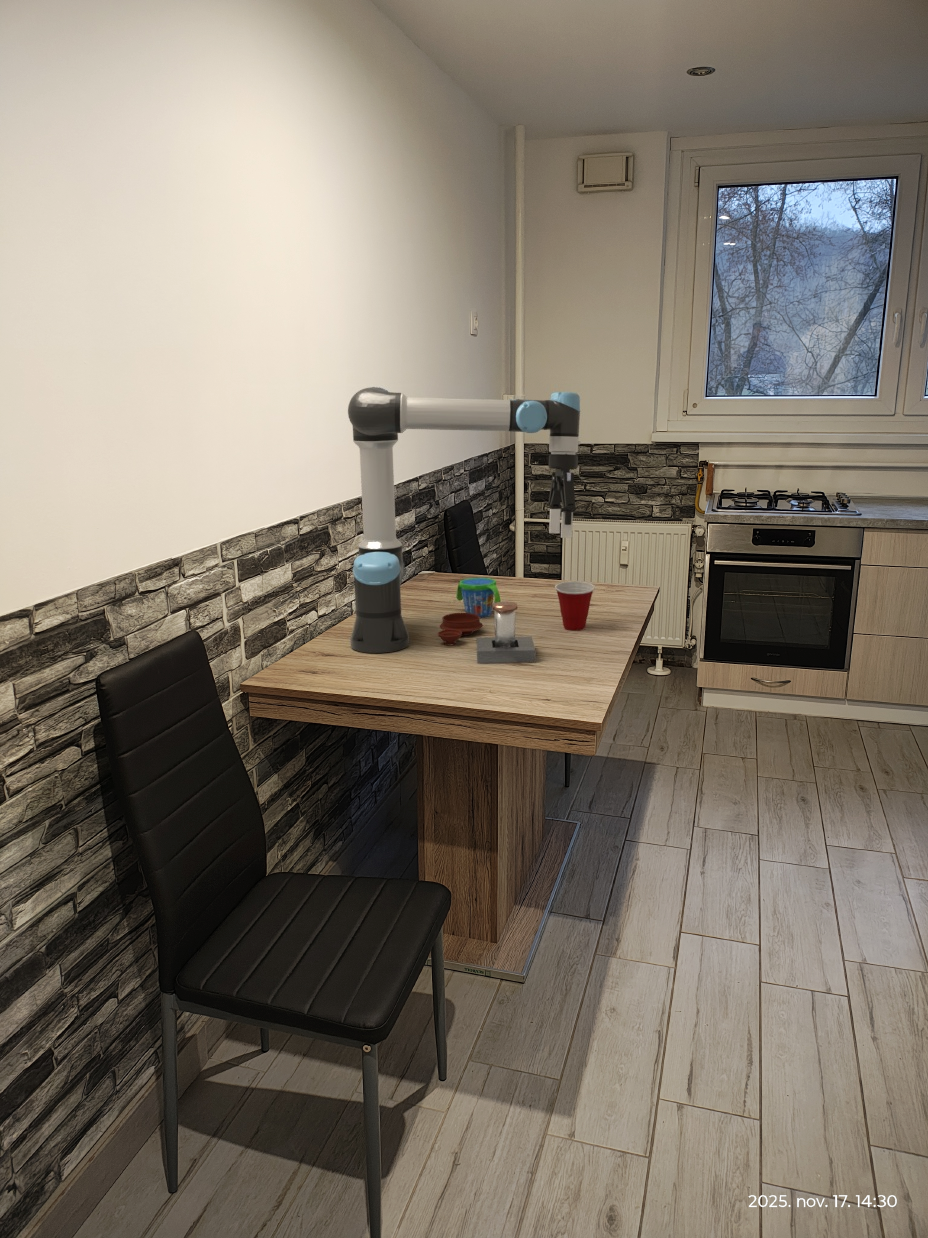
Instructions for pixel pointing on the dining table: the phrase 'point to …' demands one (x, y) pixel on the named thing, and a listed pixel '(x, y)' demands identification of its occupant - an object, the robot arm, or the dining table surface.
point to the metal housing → (505, 651)
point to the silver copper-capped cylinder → (504, 624)
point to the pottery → (458, 626)
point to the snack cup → (478, 595)
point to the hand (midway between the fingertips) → (560, 535)
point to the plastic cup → (574, 603)
